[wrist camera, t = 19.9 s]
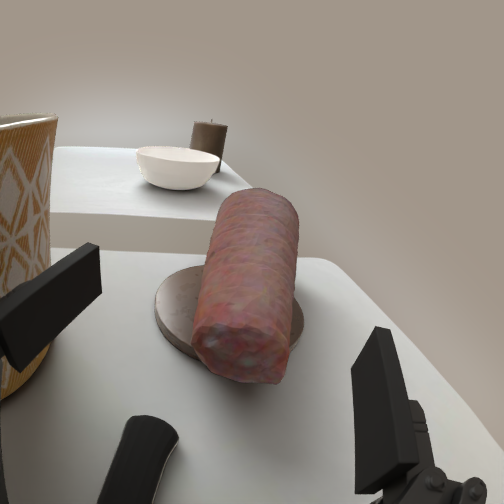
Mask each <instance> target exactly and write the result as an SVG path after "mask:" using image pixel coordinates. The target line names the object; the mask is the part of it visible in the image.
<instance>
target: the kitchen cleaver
mask: <svg viewBox="0 0 504 504" xmlns="http://www.w3.org/2000/svg"><path fill="white" fill-rule="evenodd" d="M178 441H179V437H178V434H177V432H176V430H175V429H174V428H173V427H172V426H171V425H170V424H168V423H167V422H165V421H163V420H161V419H159V418H156V417H153V416H148V415H140V416H132V417H131V418H130V419H129V420H128V421H127V423H126V425H125V427H124V431H123V434H122V437H121V440H120V442H119V445H118V448H117V450H116V453H115V455H114V458H113V460H112V463H111V465H110V468H109V471H108V473H107V476H106V479H105V481H104V484H103V487H102V490H101V492H100V495H99V498H98V500H97V503H96V504H153V500H154V497H155V494H156V491H157V488H158V485H159V482H160V479H161V476H162V473H163V470H164V467H165V464H166V462H167V459H168V458H169V456H170V454H171V452H172V451H173V449H174V448H175V446H176V445H177V443H178Z"/></svg>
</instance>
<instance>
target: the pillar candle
mask: <svg viewBox="0 0 504 504" xmlns="http://www.w3.org/2000/svg"><path fill="white" fill-rule="evenodd" d="M227 127H228V126H226V125H221V124H215V123H212V120H211V123H207V122H197V121H194V127H193V133H192V138H191V144H190V149H193V150H198V151H202V152H206V153H209V154H212V155H215V156H217V157H218V158H220V162H219V164H218V167H217V169H216V172H215V173H218V172H219V171H220V166H221V160H222V154H223V149H224V143H225V138H226V132H227Z"/></svg>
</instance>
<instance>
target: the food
mask: <svg viewBox="0 0 504 504" xmlns="http://www.w3.org/2000/svg"><path fill="white" fill-rule="evenodd" d="M298 240H299V219H298V215H297V212H296V211H295V209H294V207H293V206H292V204H291V203H290V202H289V201H288V200H287V199H286V198H284V197H283V196H280V195H278V194H275V193H273V192H271V191H269V190H266V189H262V188H252V189H245V190H240V191H237V192H235V193H232V194H231V195H230V196H229V197H228V198H226V199H225V200H224V202H223V203H222V204H221V207H220V209H219V211H218V215H217V219H216V223H215V227H214V230H213V234H212V237H211V240H210V246H209V250H208V252H207V257H206V261H205V266H204V270H203V275H202V279H201V289H200V292H199V296H198V306H197V309H196V313H195V317H194V322H193V332H192V340H191V345H192V346H193V348H194V350H195V352H196V354H197V355H198V357H199V358H200V359H201V360H202V362H203V363H204V364H205V365H207V366H208V368H209V370H210V371H211V372H212V373H214V374H217V375H220V376H224V377H226V378H229V379H231V380H234V381H237V382H241V383H247V382H256V383H269V384H278V383H279V382H281V380H282V379H283V377H284V376H285V372H286V367H287V362H288V357H289V353H290V351H289V343H290V331H291V322H292V302H293V299H294V290H295V277H296V263H297V253H298V252H297V248H298Z"/></svg>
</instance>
